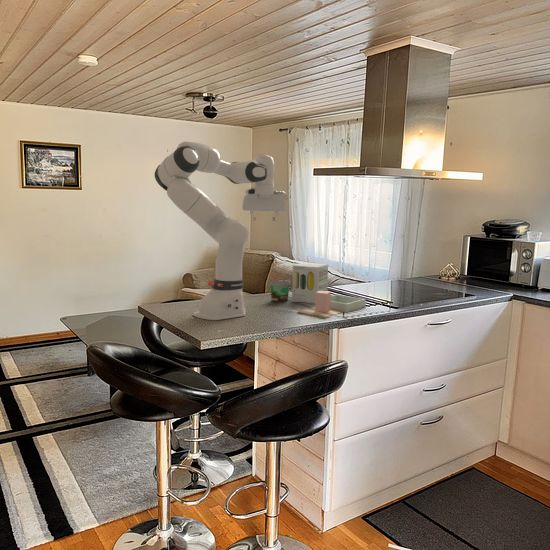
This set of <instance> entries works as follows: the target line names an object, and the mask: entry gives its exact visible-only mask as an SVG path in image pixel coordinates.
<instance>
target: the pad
mask: <svg viewBox="0 0 550 550" xmlns="http://www.w3.org/2000/svg"><path fill="white" fill-rule="evenodd" d="M342 313H345V312H344V311H338V310H333V309H330V310H329V311H328V312H319V311H315V306H314V307H313V306H312V307H310V308H305V309H302V310H297V314H299V315H305V316H309V317H313V318H318V319H319V318H320V319H322V320H325V319H326V320H327V319H329V318H331V316H336V315H338V314H342Z"/></svg>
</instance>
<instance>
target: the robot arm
mask: <svg viewBox="0 0 550 550" xmlns="http://www.w3.org/2000/svg"><path fill="white" fill-rule="evenodd" d="M274 161H275V160H274V158H273V157H272V156H271V155H267V154H258V155H256V157H255V158H253V159H251V160H248V161H233V162H227V161H224V160H221V155H220V152H219V151H218V149H215V148H214V147H211V146H209V145H206V144H203V143H201V142H200V143H198V142H194V141H182V142H180V143H179V144H178V146H177V147H176V149H175V150H174V151H172V153H170V154H169V155H168V156H166V157H165V159H164V158H163V160H162V162H161V163H160V164H159V165H158V166H157V167H156V169H155V170H154V171H155V172H154V179H155V181H156V182H157V184H158V185H159V186H160V187H161V188H162V189H163V190H165V191H166V194H167V196H168V198H169V199H170V200H171V202H172V203H173V204H174V205H175V206H176V207H177V208H178V209H179V210H180V211H181V212H182V213H184V214H185V215H186V216H187V217H189V218H190V219H191V220H192V221H193V222H194V223H196V224H197V225H198V226H199V227H200V228H201V229H203V230H204V232H206V233H207V234H208V236H210V237H211V238H212V239H213V240H215V242H217V244H218V249H217V254H216V255H217V256H216V258H215V274H214V275H215V278H214V280H213V281H211V280H208V281H207V283H206V284H207V286H208V287H210V286H211V289H210V290H209V291H208V292H207V293H206V294H205V295H204V296H203V298H201V300H199V306H198V310H197V311H194V312H193V314H192V315H193V316H194V317H195V318H198V319H203V320H206V321H207V320H208V321H221V320H225V319H232V318H238V317H246V312H247V311H246V307H245V302H244V294H243V289H244V279H243V260H244V253H245V248H246V242H247V241H248V238H249V230H248V227H247V226H246V225H245V224H244V223H243V222H242V221H240V220H238V219H233V218H231V217H229V216H228V215H227V214H226V213H225V212H224V211H223V210H222V208H220V206H219V205H218V204H217V203H216V202H215V201H214V200H212V198H211V197H209V196H208V195H207V194H205V193H204V191H202V190H201V189H200V188H199V187H197V186H196V185H195V184H194V183H192V182H191V180H190V179H189V177H191V175H192V174H193V173H195V172H196V171H197V172H201V173H207V174H216V175H220V176H222V177H224V178H226V179H227V180H229V182H231V183H233V184H235V185H240V184H254V185H255V186H254V187H251V188H248V189H246V190H245V196H243V200H242V210H243V211H247V212H248V211H249V212H250V213H249V214H250V215H251V218H252V222H255V221H257V220H256V216H254V212H256V211H257V212H258V211H259V212H275V216H272V222H276V219H277V216H278V215H279V212H285V211H286V209H287V206H286V201H287V199H288V194H287V193H286V192H285V191H283V190H281V191H280V190H275V182H274V178H275V162H274Z"/></svg>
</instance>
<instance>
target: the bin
mask: <svg viewBox="0 0 550 550" xmlns="http://www.w3.org/2000/svg"><path fill="white" fill-rule="evenodd" d="M366 304H367V303H366V298H362V297H361V298H360V297H355V296H349V295H344V294H337V293H336V294H333V295H332V294H331V301H330V309H333V310H338V311H344V312H343V313H349V312H352V311H355V310H359V309H362V308H365V307H366Z"/></svg>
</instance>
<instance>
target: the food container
mask: <svg viewBox="0 0 550 550" xmlns="http://www.w3.org/2000/svg"><path fill="white" fill-rule="evenodd" d="M291 283H292V281H291V279H290V278H289V277H284V279H281V280H280V279H279V280H270V282H269V286H270V296H271V297H270V299H271V300H270V301H271V302H272V301H273V302H274V303H285V302H288V300H289V292H290V285H291ZM273 302H272V303H273Z"/></svg>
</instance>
